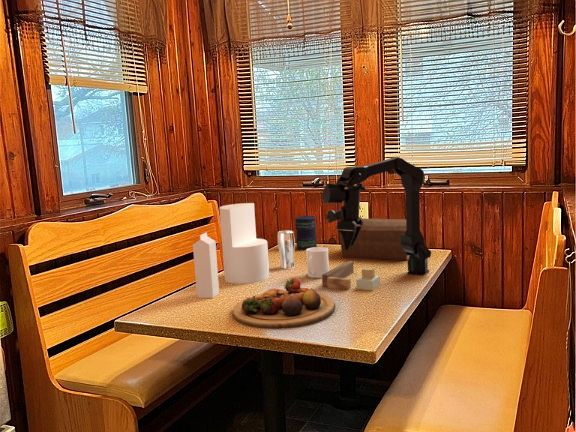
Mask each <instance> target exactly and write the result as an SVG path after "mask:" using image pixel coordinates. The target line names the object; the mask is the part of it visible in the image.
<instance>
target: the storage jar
mask: <svg viewBox="0 0 576 432" xmlns="http://www.w3.org/2000/svg"><path fill="white" fill-rule="evenodd" d="M294 221H295V225H294V226H295V234H296V238H295V245H296V250H297V249H299V250H298V251H304V250H306V249H308V248H313V247H318V246H317V244H318V240H317V231H316V230H317V222H316V221H317V220H316V216H315V215H299V216H295V217H294Z"/></svg>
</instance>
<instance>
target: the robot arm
mask: <svg viewBox="0 0 576 432" xmlns="http://www.w3.org/2000/svg"><path fill="white" fill-rule="evenodd" d="M390 171H394V173H396V174H397V175H398V176H399V177H400V180H401V181H400V183H401V185H402V187H403V189H404V191H405V210H406V212H405V219H406V232H405V234H404V235H403V234H401V245H402V248H403V249H404V250H405V253H406V255H407V256H409V259H408V260H407V274H408V275H409V274H410V275H423V276H424V275H426V274H427V273H428V272H430V269H429V265H428V264H429V262H428V259H431V255H432V251H431V250H430V249H429V248H428V247H427V246H426V241H425V237H424V235H423V233H422V231H421V221H420V220H421V217H420V215H421V213H420V212H421V211H420V209H421V207H420V202H421V201H420V190H421V188H422V187H423V185H424V179H425V172H424V170H423V169H422V168H421V167H417V166H416V165H414V164H412V163H410V162H408V161H406V160H405V159H404V158H402V157H400V156H398V157H397V156H392V157H390V158H387V159H384V160H381V161H377V162H373V163H370V164H367V165H357V166H356V165H355V166H354V165H352V166H347V167H344V168H343V170H342V172H341V174H340V176H339V178H337V181H336V182H335V183H329V182H328V183H325V187H324V188H323V190H322V192H321V198H322V201H323V203H324V204H342V206H340V209H339V210H335V211H334V210H333V209H331V210H328V211H327V214H325V219H326V220H327V223H328V224H331V223H332V222H336V221H338V220H339V221H338V222H336V230H337V232H338V233H339V232H340V233H341V234H342V236H343V240H344V245H345V249H347V250H348V249H349V247H350V245H351V246H353V245H354V243H355V240H356V238H357V236H358V234H359V232H360V230H361V228H362V226H358V224H360V225H363V219H364V218H362V216H360V209H361V206H360V201H361V200H360V199H361V191H366V190H367V188H366V187H365V186H364V185H363V184H362V182H365V181H366V180H368V179H369V178H371V177H373V176H376V175H379V174H382V173H385V172H390Z"/></svg>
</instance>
